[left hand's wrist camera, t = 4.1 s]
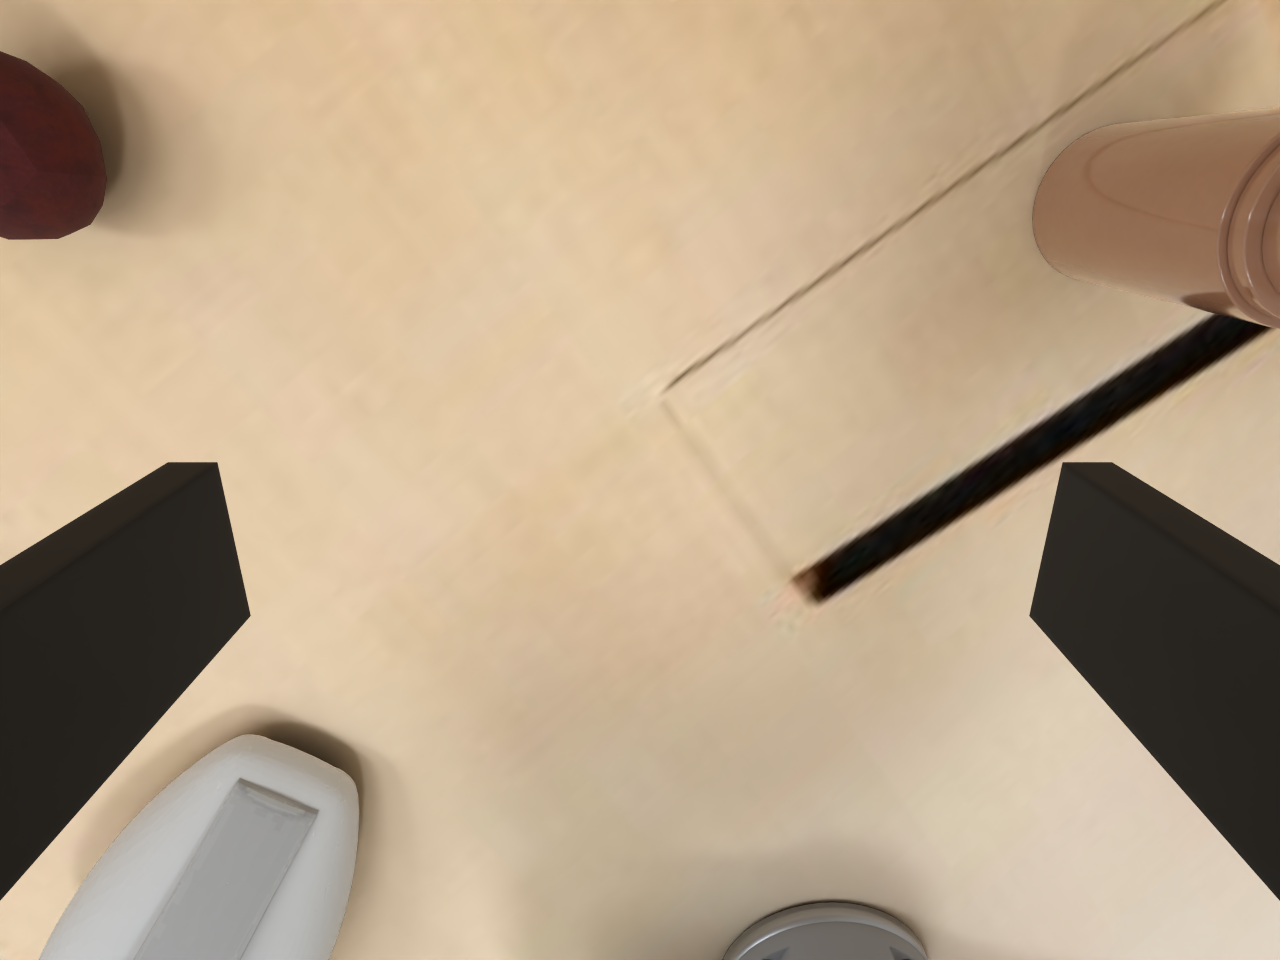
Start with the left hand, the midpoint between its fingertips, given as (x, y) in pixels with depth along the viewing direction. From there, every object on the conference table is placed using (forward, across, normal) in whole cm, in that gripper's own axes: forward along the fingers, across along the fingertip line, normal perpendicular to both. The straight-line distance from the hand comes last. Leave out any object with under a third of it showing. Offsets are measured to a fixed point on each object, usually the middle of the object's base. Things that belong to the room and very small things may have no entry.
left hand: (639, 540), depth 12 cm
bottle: (+28, -22, -4) cm, 36 cm away
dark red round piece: (+28, +27, -6) cm, 39 cm away
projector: (+28, +27, +37) cm, 54 cm away
